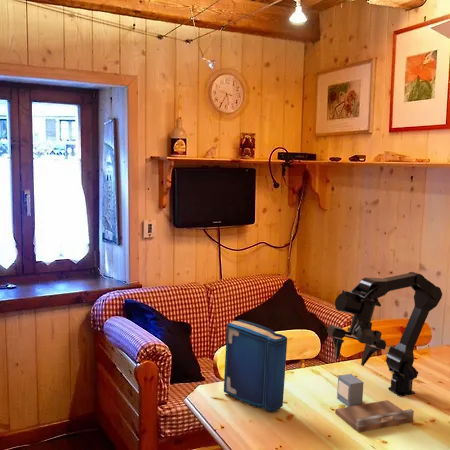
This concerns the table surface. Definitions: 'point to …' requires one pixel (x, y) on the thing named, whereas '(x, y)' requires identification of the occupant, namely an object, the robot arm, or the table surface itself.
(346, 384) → the carton
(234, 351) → the book
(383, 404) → the shelf board
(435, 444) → the table surface
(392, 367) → the robot arm
